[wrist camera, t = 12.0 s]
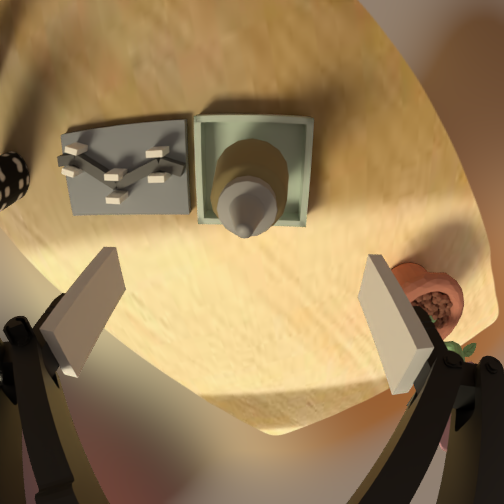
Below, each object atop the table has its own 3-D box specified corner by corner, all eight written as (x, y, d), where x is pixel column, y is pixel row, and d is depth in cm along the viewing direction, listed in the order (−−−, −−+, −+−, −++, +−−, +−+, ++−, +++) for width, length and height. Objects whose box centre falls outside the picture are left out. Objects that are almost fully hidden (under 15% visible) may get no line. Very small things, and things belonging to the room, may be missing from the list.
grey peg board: (65, 133, 34) (48, 138, 30) (187, 118, 33) (178, 121, 30) (77, 212, 39) (63, 223, 36) (191, 210, 39) (184, 223, 36)
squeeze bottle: (272, 124, 33) (282, 151, 17) (295, 186, 37) (320, 262, 21) (208, 148, 35) (163, 197, 19) (234, 207, 38) (214, 294, 22)
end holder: (199, 114, 33) (193, 116, 30) (309, 116, 33) (314, 118, 30) (202, 214, 39) (198, 223, 37) (302, 217, 39) (305, 226, 36)
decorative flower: (452, 243, 40) (565, 388, 14) (431, 312, 47) (500, 454, 20) (369, 245, 41) (465, 438, 14) (356, 319, 47) (403, 492, 21)
